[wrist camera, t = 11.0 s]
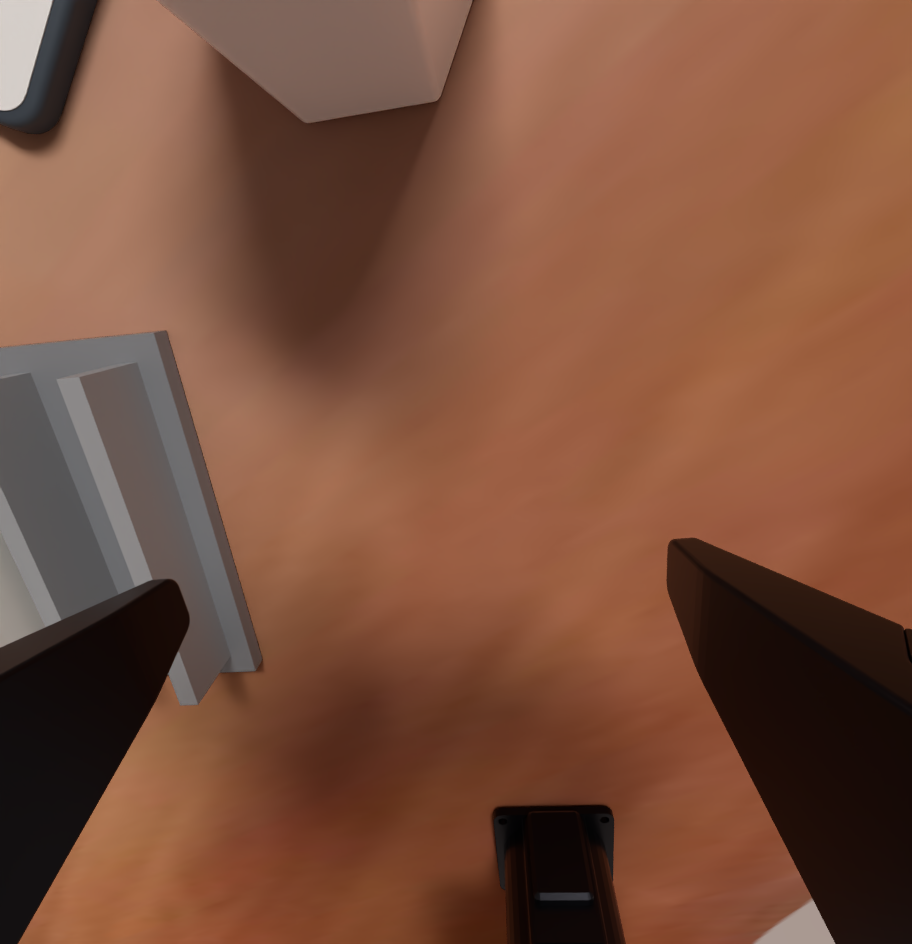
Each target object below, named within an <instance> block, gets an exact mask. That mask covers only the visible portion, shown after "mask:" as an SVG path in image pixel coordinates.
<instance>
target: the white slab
mask: <svg viewBox="0 0 912 944" xmlns="http://www.w3.org/2000/svg"><path fill="white" fill-rule="evenodd" d="M43 628H45V625H44V623H43V621H42V619H41V616H40V614H39V612H38V610H37V608H36V606H35V604H34V602H33V599H32V597H31V595H30V593H29V591H28V589H27V587H26V585H25V582H24V580H23V578H22V576H21V574H20V572H19V570H18V567H17V565H16V563H15V561H14V559H13V557H12V555H11V553H10V550H9V548H8V546H7V544H6V542H5V540H4V538H3V536H2V533H1V531H0V647H3V646H5V645H7V644H9V643H12V642H14V641H16V640H18V639H20V638H23V637H25V636H27V635H29V634H32V633H34V632H36V631H38V630H40V629H43Z"/></svg>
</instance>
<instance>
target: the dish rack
mask: <svg viewBox="0 0 912 944" xmlns="http://www.w3.org/2000/svg"><path fill="white" fill-rule="evenodd" d="M0 531H1V533H2V536H3V538H4V540H5V542H6V544H7V546H8V548H9V550H10V553H11V555H12V557H13V559H14V561H15V563H16V565H17V567H18V570H19V572H20V574H21V576H22V578H23V580H24V582H25V585H26V587H27V589H28V591H29V593H30V595H31V597H32V599H33V602H34V604H35V606H36V608H37V610H38V612H39V614H40V616H41V619H42V621H43V623H44V625H45V627H47V626H49V625H52V624H54V623H56V622H58V621H60V620H63V619H65V618H67V617H69V616H72V615H74V614H76V613H78V612H81V611H83V610H85V609H87V608H89V607H92V606H94V605H96V604H98V603H101V602H103V601H105V600H107V599H109V598H112V597H114V596H116V595H118V594H121V593H123V592H125V591H127V590H129V589H132V588H134V587H136V586H138V585H141V584H143V583H145V582H147V581H150V580H156V579H173V580H175V581H176V582H177V583H178V585H179V587H180V590H181V593H182V595H183V598H184V601H185V604H186V606H187V609H188V612H189V615H190V625H189V628H188V631H187V633H186V635H185V638H184V640H183V642H182V644H181V646H180V649H179V651H178V653H177V655H176V657H175V660H174V662H173V664H172V666H171V669H170V671H169V673H168V675H169V677H170V679H171V682H172V685H173V687H174V690H175V693H176V695H177V698H178V701H179V703H180V705H198V704H199V703H200V701H201V700H202V698H203V697H204V695H205V694H206V692H207V691H208V689H209V688H210V686H211V685H212V683H213V682H214V680H215V679H216V677H217V676H218V674H219V673H222V672H246V671H256V670H257V668H258V666H259V665H260V663H261V661H262V656H261V653H260V649H259V646H258V643H257V639H256V636H255V632H254V629H253V626H252V622H251V619H250V615H249V612H248V609H247V605H246V602H245V598H244V595H243V591H242V588H241V585H240V581H239V578H238V574H237V571H236V568H235V564H234V561H233V557H232V554H231V550H230V547H229V544H228V540H227V537H226V533H225V530H224V527H223V523H222V520H221V516H220V513H219V510H218V506H217V503H216V499H215V496H214V492H213V489H212V486H211V482H210V479H209V475H208V472H207V469H206V465H205V462H204V458H203V455H202V451H201V448H200V445H199V441H198V438H197V434H196V431H195V428H194V424H193V421H192V417H191V414H190V411H189V407H188V404H187V400H186V397H185V393H184V390H183V387H182V383H181V380H180V376H179V373H178V370H177V366H176V363H175V359H174V356H173V352H172V349H171V346H170V342H169V339H168V335H167V332H166V331H156V332H146V333H136V334H127V335H117V336H107V337H97V338H87V339H77V340H67V341H57V342H47V343H37V344H28V345H18V346H8V347H0Z"/></svg>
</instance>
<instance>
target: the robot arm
mask: <svg viewBox="0 0 912 944" xmlns="http://www.w3.org/2000/svg"><path fill="white" fill-rule="evenodd" d="M667 589H668V593H669V597H670V599H671V602H672V605H673V607H674V610H675V613H676V616H677V618H678V621H679V624H680V627H681V629H682V632H683V635H684V637H685V640H686V643H687V646H688V648H689V651H690V654H691V656H692V659H693V662H694V664H695V667H696V669H697V672H698V674H699V676H700V678H701V680H702V682H703V684H704V686H705V688H706V690H707V692H708V694H709V696H710V698H711V700H712V702H713V704H714V706H715V708H716V710H717V712H718V714H719V716H720V718H721V720H722V722H723V724H724V726H725V728H726V730H727V731H728V733H729V735H730V737H731V739H732V741H733V743H734V745H735V747H736V749H737V751H738V753H739V755H740V757H741V759H742V761H743V763H744V765H745V767H746V769H747V771H748V773H749V775H750V777H751V779H752V781H753V783H754V785H755V786H756V788H757V790H758V792H759V794H760V796H761V798H762V800H763V802H764V804H765V806H766V808H767V810H768V812H769V814H770V816H771V818H772V820H773V822H774V824H775V826H776V828H777V830H778V832H779V834H780V836H781V838H782V840H783V841H784V843H785V845H786V847H787V849H788V851H789V853H790V855H791V857H792V859H793V861H794V863H795V865H796V867H797V869H798V871H799V873H800V875H801V877H802V879H803V881H804V883H805V885H806V887H807V889H808V891H809V893H810V894H811V896H812V898H813V900H814V902H815V904H816V906H817V908H818V910H819V912H820V914H821V916H822V918H823V920H824V922H825V924H826V926H827V928H828V930H829V932H830V934H831V936H832V938H833V940H834V942H835V944H912V629H905V630H904V628H903V626H902V625H900V624H897V623H895V622H892V621H890V620H888V619H885V618H883V617H881V616H878V615H876V614H874V613H871V612H869V611H866V610H864V609H862V608H859V607H857V606H855V605H852V604H850V603H848V602H845V601H843V600H841V599H838V598H836V597H833V596H831V595H829V594H826V593H824V592H822V591H819V590H817V589H815V588H812V587H810V586H807V585H805V584H803V583H800V582H798V581H796V580H793V579H791V578H789V577H786V576H784V575H782V574H779V573H777V572H774V571H772V570H770V569H767V568H765V567H763V566H760V565H758V564H756V563H753V562H751V561H749V560H746V559H744V558H741V557H739V556H737V555H734V554H732V553H730V552H727V551H725V550H723V549H720V548H718V547H716V546H713V545H711V544H708V543H706V542H704V541H701V540H699V539H697V538H682V539H673V540H671V541H670V542H669V545H668V555H667ZM189 625H190V615H189V612H188V609H187V606H186V604H185V601H184V598H183V595H182V593H181V590H180V587H179V585H178V583H177V582H176V581H175V580H173V579H156V580H150V581H147V582H145V583H143V584H141V585H138V586H136V587H134V588H132V589H129V590H127V591H125V592H123V593H121V594H118V595H116V596H114V597H112V598H109V599H107V600H105V601H103V602H101V603H98V604H96V605H94V606H92V607H89V608H87V609H85V610H83V611H81V612H78V613H76V614H74V615H72V616H69V617H67V618H65V619H63V620H60V621H58V622H56V623H54V624H52V625H49V626H47V627H45V628H43V629H40V630H38V631H36V632H34V633H32V634H29V635H27V636H25V637H23V638H20V639H18V640H16V641H14V642H12V643H9V644H7V645H5V646H3V647H0V944H18V943H19V941H20V939H21V937H22V935H23V934H24V932H25V930H26V928H27V927H28V925H29V923H30V921H31V920H32V918H33V916H34V914H35V913H36V911H37V909H38V907H39V906H40V904H41V902H42V900H43V899H44V897H45V895H46V893H47V892H48V890H49V888H50V886H51V885H52V883H53V881H54V879H55V878H56V876H57V874H58V872H59V870H60V869H61V867H62V865H63V863H64V862H65V860H66V858H67V856H68V855H69V853H70V851H71V849H72V848H73V846H74V844H75V842H76V841H77V839H78V837H79V835H80V834H81V832H82V830H83V828H84V827H85V825H86V823H87V821H88V820H89V818H90V816H91V814H92V812H93V811H94V809H95V807H96V805H97V804H98V802H99V800H100V798H101V797H102V795H103V793H104V791H105V790H106V788H107V786H108V784H109V783H110V781H111V779H112V777H113V776H114V774H115V772H116V770H117V769H118V767H119V765H120V763H121V762H122V760H123V758H124V756H125V754H126V753H127V751H128V749H129V747H130V746H131V744H132V742H133V740H134V739H135V737H136V735H137V733H138V732H139V730H140V728H141V726H142V725H143V723H144V721H145V719H146V718H147V716H148V714H149V712H150V710H151V708H152V707H153V705H154V703H155V701H156V699H157V697H158V695H159V693H160V691H161V688H162V686H163V684H164V682H165V680H166V677H167V675H168V673H169V671H170V669H171V666H172V664H173V662H174V660H175V657H176V655H177V653H178V651H179V649H180V646H181V644H182V642H183V640H184V638H185V635H186V633H187V631H188V628H189ZM494 830H495V839H496V849H497V858H498V868H499V878H500V886H501V888H502V889H504V890H505V893H506V922H507V944H626V943H625V938H624V933H623V929H622V924H621V919H620V914H619V910H618V905H617V900H616V896H615V891H614V886H613V848H614V818H613V813H612V810H611V809H610V808H608V807H604V806H596V807H541V808H500V809H497V810H495V812H494Z"/></svg>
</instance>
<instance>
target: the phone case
mask: <svg viewBox="0 0 912 944" xmlns="http://www.w3.org/2000/svg"><path fill="white" fill-rule="evenodd" d="M96 3H97V0H0V124H1V125H3V126H6V127H9V128H12V129H15V130H19V131H22V132H25V133H30V134H40V133H44V132H47V131H49V130H50V129H51V128H53V127H54V126H55V125H56V123H57V122H58V121H59V118H60V116H61V114H62V111H63V107H64V104H65V101H66V98H67V95H68V92H69V88H70V85H71V82H72V79H73V76H74V73H75V69H76V66H77V63H78V60H79V57H80V54H81V50H82V47H83V44H84V41H85V38H86V35H87V31H88V28H89V25H90V22H91V19H92V15H93V12H94V9H95V6H96Z"/></svg>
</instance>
